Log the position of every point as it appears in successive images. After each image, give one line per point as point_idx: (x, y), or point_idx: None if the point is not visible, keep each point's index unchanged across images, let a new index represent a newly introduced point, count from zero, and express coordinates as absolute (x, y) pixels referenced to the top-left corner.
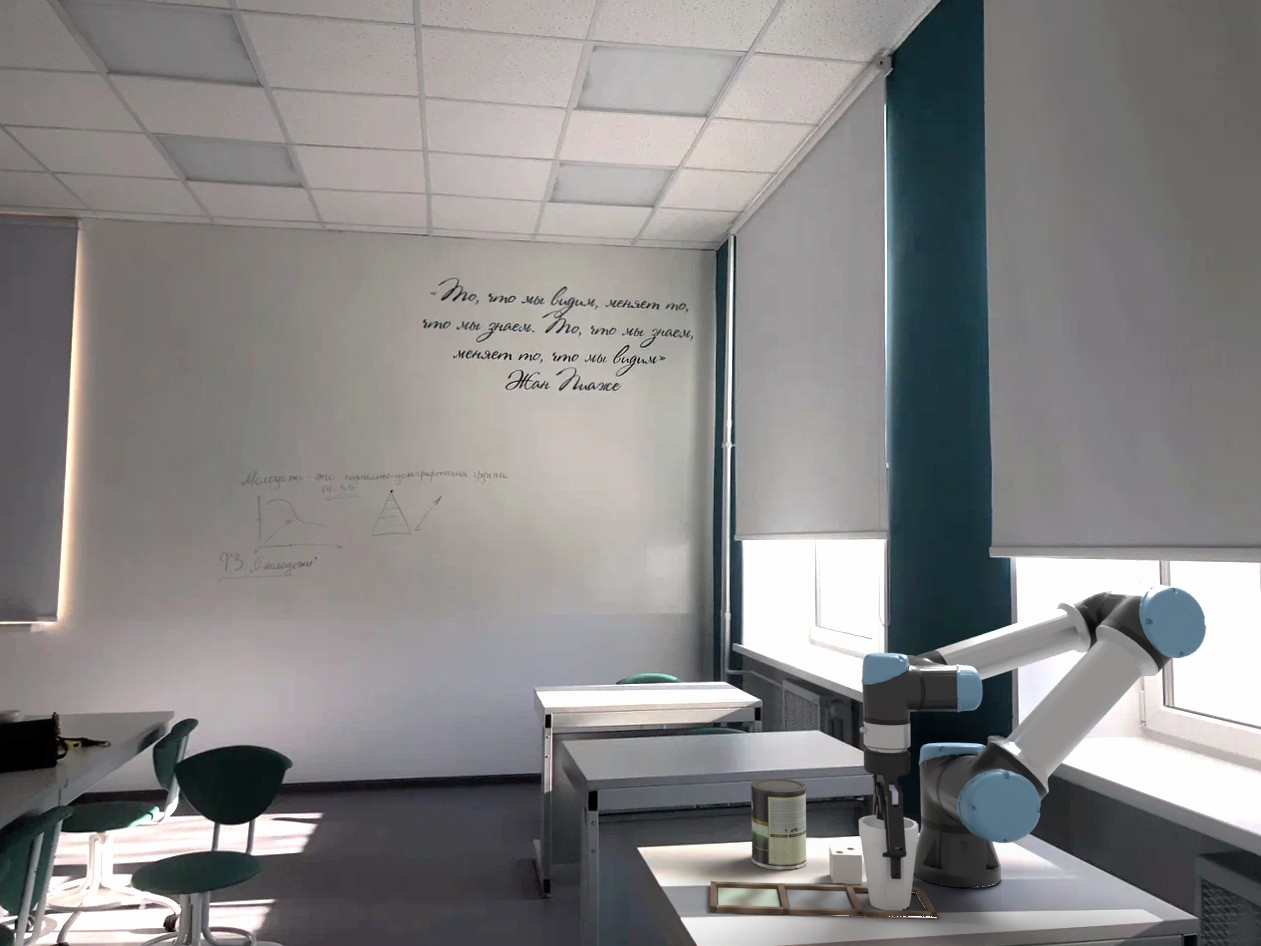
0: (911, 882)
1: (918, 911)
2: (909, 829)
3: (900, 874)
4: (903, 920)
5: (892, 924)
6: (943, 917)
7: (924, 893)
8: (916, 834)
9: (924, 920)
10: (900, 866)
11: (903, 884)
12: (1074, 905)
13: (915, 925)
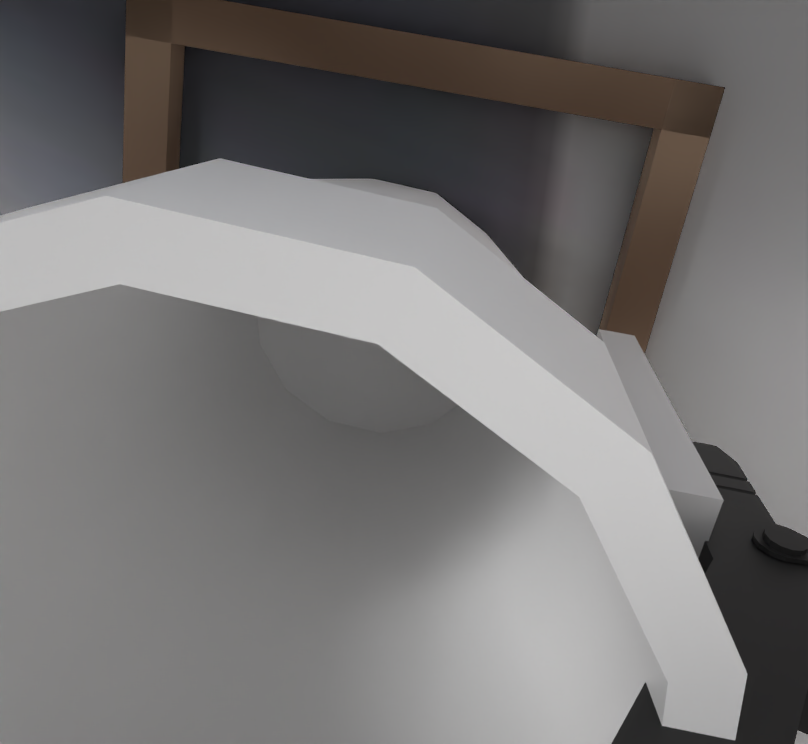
0: (461, 220)
1: (648, 215)
2: (697, 566)
3: (739, 475)
4: (681, 332)
5: (731, 422)
6: (685, 22)
7: (273, 10)
8: (518, 304)
9: (711, 193)
10: (766, 515)
11: (657, 380)
12: None
13: (784, 290)
